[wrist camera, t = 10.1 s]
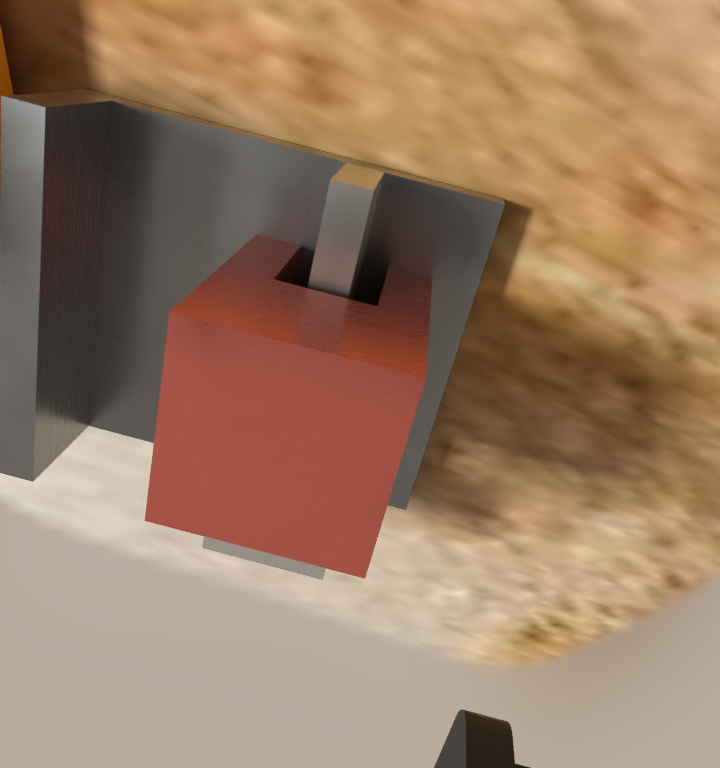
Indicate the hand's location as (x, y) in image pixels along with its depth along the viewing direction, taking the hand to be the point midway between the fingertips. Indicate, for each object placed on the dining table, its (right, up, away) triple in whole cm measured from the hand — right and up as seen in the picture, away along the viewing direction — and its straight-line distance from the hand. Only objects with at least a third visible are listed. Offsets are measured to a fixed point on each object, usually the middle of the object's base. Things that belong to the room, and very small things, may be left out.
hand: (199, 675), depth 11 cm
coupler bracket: (-1, +7, +14) cm, 16 cm away
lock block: (+1, +6, +13) cm, 15 cm away
